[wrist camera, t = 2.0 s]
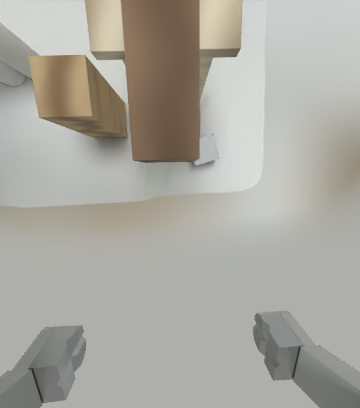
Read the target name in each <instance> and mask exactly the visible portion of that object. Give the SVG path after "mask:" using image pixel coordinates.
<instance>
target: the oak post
mask: <svg viewBox="0 0 360 408" xmlns="http://www.w3.org/2000/svg"><path fill="white" fill-rule="evenodd" d="M28 57H29V63H30V69H31V74H32V80H33V86H34V91H35V97H36V103H37V109H38V114H39V118H42V119H45V120H47V121H50V122H53V123H56V124H58V125H61V126H64V127H66V128H69V129H72V130H75V131H77V132H80V133H83V134H86V135H88V136H91V137H94V138H127V125H126V113H125V103H124V102H123V101H122V99H121V98H120V97H119V96H118V94H117V93H116V92H115V91H114V90H113V88H112V87H111V86H110V85H109V84H108V82H107V81H106V80H105V79H104V77H103V76H102V75H101V74H100V73H99V71H98V70H97V69H96V68H95V66H94V65H93V64H92V63H91V62H90V60H89V59H88V58H87V57H86V56H85V55H62V56H28Z"/></svg>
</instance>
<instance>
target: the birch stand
mask: <svg viewBox="0 0 360 408" xmlns="http://www.w3.org/2000/svg"><path fill="white" fill-rule="evenodd" d="M242 1H243V0H200V98H201V94H202V91H203V88H204V85H205V81H206V78H207V75H208V72H209V68H210V65H211V62H212V59H213V57H236V56H237V54H238V52H239V50H240V48H241V25H242ZM85 5H86V14H87V23H88V32H89V41H90V50H91V53H92V54H93V55H94V57H95V58H96V59H97V60H121V59H122V60H123V62H124V64H125V51H124V37H123V24H122V11H121V0H85ZM125 66H126V64H125Z"/></svg>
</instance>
